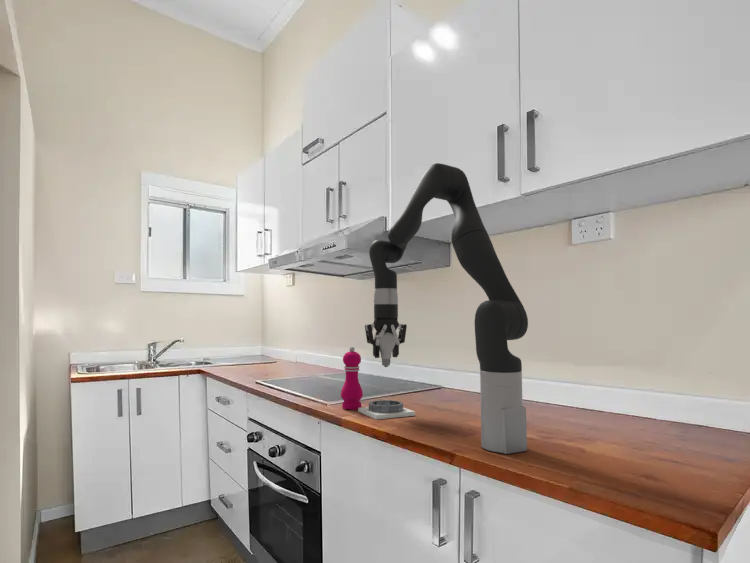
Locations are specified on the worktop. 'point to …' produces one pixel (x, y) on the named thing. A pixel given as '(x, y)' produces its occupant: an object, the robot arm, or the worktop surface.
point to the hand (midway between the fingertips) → (386, 357)
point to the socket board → (386, 415)
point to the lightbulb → (386, 348)
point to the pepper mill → (351, 381)
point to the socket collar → (385, 406)
